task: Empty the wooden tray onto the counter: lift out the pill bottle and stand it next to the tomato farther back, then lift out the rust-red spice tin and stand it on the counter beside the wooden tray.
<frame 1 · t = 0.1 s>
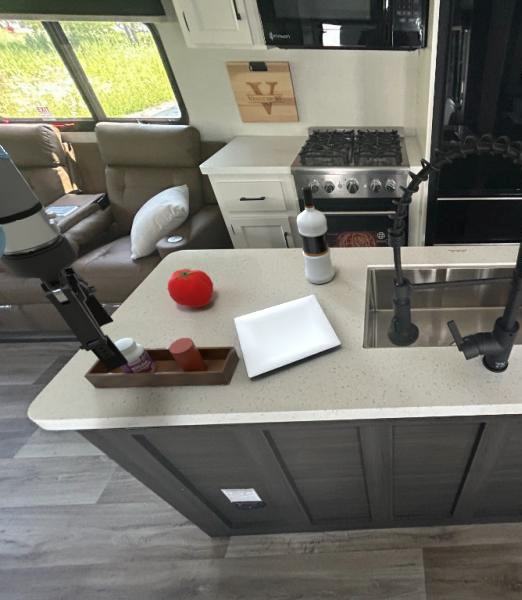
hand: (111, 343, 60), 18 cm above the worktop, tool pointing down, fingers open, 13 cm apart
wooden tray: (170, 372, 77), on the worktop
tomato: (198, 301, 97), on the worktop
vodka: (320, 277, 108), on the worktop
pill bottle: (144, 372, 77), resting on wooden tray
spice tin: (196, 370, 77), resting on wooden tray
plate: (287, 335, 87), on the worktop
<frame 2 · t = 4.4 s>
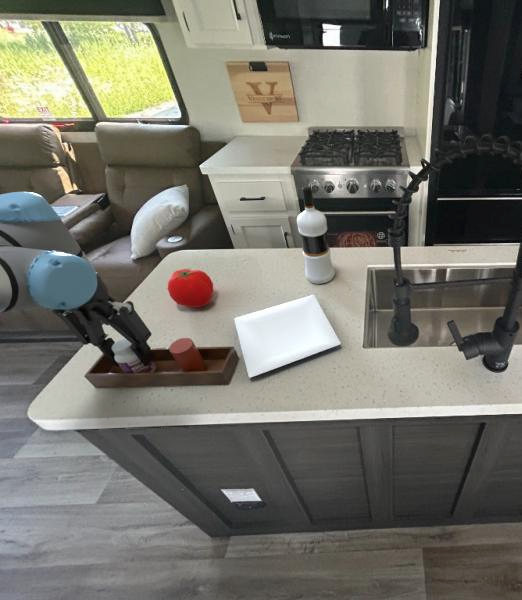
hand: (135, 361, 74), 4 cm above the worktop, tool pointing down, fingers closed on pill bottle, 5 cm apart
pill bottle: (144, 372, 77), resting on wooden tray, touching gripper
everything else where it was.
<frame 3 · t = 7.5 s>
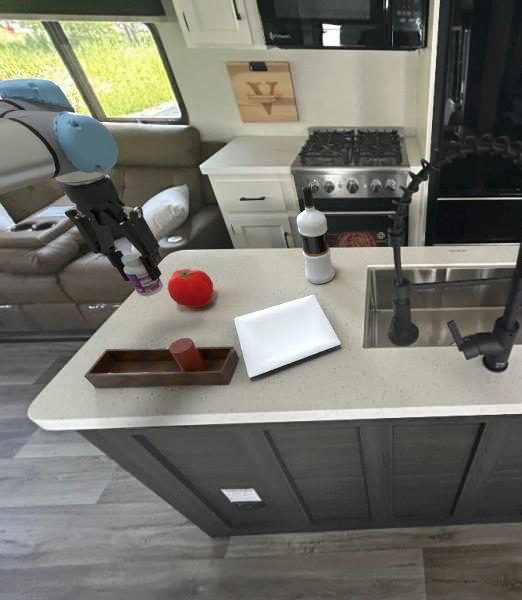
hand: (143, 277, 76), 18 cm above the worktop, tool pointing down, fingers closed on pill bottle, 5 cm apart
pill bottle: (151, 290, 79), point 13 cm above the worktop, touching gripper
everything else where it was.
when the fingers open (4 cm above the worktop, at t = 10.8 s): pill bottle stays where it is, on the worktop.
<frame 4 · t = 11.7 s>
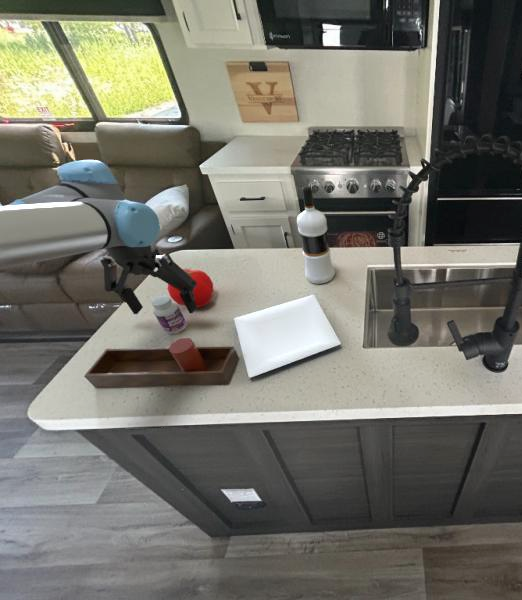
hand: (166, 310, 84), 6 cm above the worktop, tool pointing down, fingers open, 13 cm apart
pill bottle: (176, 328, 89), on the worktop
everything else where it was.
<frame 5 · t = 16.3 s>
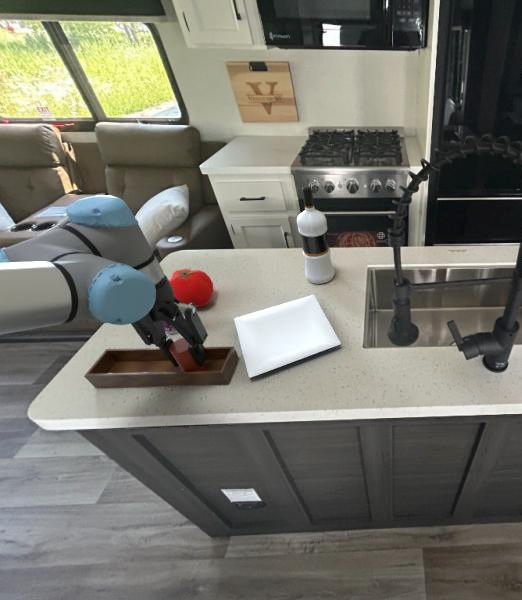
hand: (191, 361, 75), 4 cm above the worktop, tool pointing down, fingers closed on spice tin, 5 cm apart
spice tin: (196, 370, 77), resting on wooden tray, touching gripper
everything else where it was.
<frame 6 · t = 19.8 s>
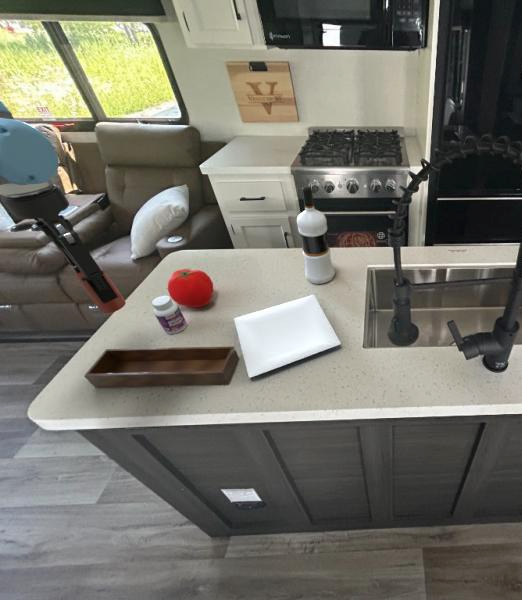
hand: (104, 294, 70), 18 cm above the worktop, tool pointing down, fingers closed on spice tin, 5 cm apart
spice tin: (113, 306, 73), point 15 cm above the worktop, touching gripper
everything else where it was.
when the fingers open (3 cm above the worktop, at t = 23.4 s): spice tin stays where it is, on the worktop.
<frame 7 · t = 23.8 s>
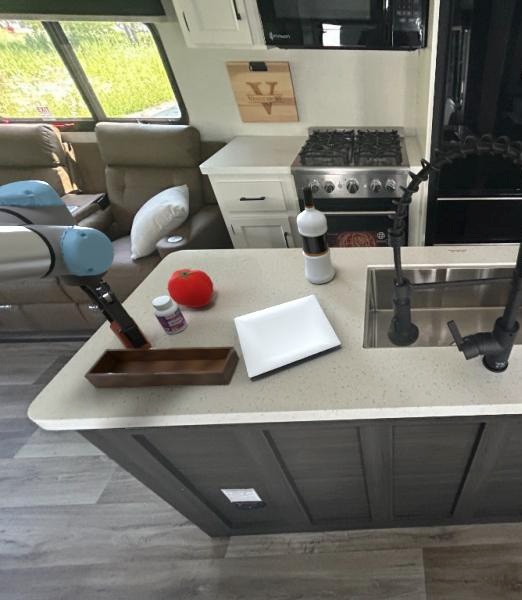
hand: (131, 336, 80), 4 cm above the worktop, tool pointing down, fingers open, 9 cm apart
spice tin: (140, 348, 83), on the worktop
everything else where it was.
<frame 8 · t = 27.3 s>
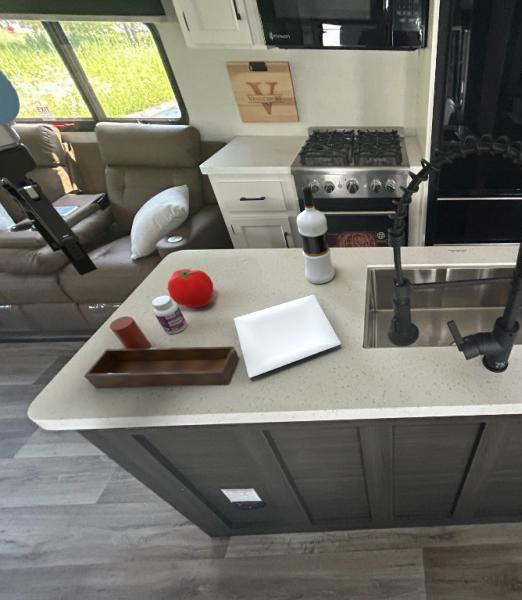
hand: (74, 259, 65), 27 cm above the worktop, tool pointing down, fingers open, 13 cm apart
nothing on the worktop moved.
at the end: pill bottle 11.3 cm from the tomato (horizontally); spice tin inside the target area (0.1 cm from its centre), on the worktop; pill bottle tilted 0° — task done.
